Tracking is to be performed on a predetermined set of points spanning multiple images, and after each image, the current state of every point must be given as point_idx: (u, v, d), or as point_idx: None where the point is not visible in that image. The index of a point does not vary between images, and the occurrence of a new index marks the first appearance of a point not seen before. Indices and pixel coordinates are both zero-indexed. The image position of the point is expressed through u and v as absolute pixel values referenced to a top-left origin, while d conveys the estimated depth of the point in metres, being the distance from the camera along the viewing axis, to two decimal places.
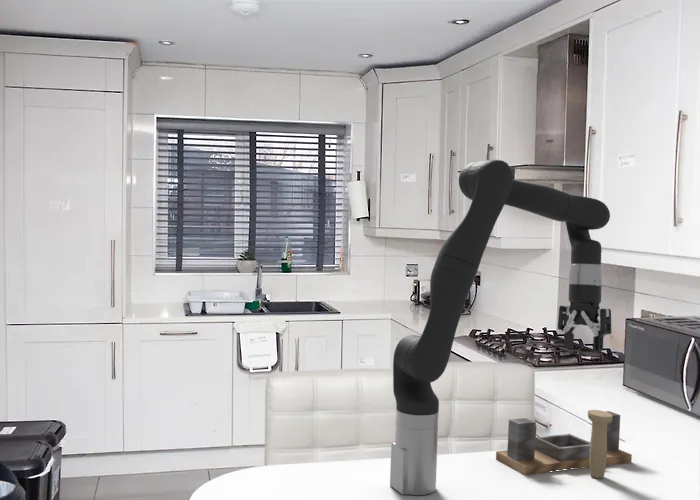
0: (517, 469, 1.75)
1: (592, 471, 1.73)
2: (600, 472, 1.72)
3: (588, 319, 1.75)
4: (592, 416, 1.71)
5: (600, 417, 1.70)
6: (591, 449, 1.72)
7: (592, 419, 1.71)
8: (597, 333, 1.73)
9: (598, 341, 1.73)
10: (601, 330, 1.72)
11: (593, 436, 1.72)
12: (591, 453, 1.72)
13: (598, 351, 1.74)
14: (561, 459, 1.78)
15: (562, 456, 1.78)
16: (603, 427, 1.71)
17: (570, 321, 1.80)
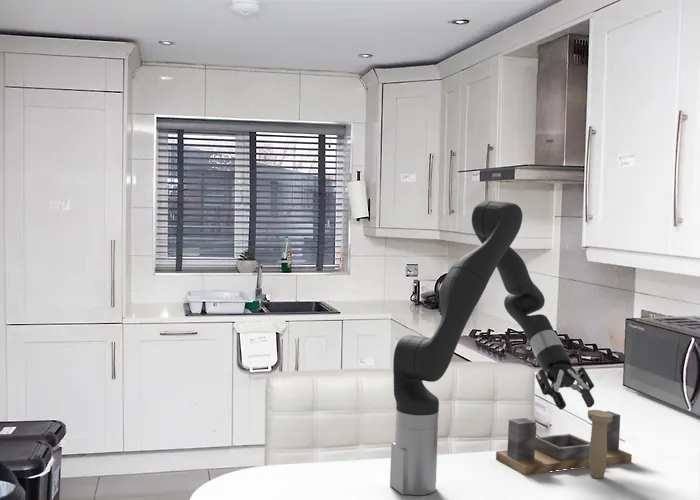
0: (517, 469, 1.75)
1: (592, 471, 1.73)
2: (600, 472, 1.72)
3: (576, 376, 1.85)
4: (592, 416, 1.71)
5: (600, 417, 1.70)
6: (591, 449, 1.72)
7: (592, 419, 1.71)
8: (588, 387, 1.84)
9: (590, 394, 1.83)
10: (590, 384, 1.85)
11: (593, 436, 1.72)
12: (591, 453, 1.72)
13: None
14: (561, 459, 1.78)
15: (562, 456, 1.78)
16: (604, 427, 1.71)
17: (560, 379, 1.82)
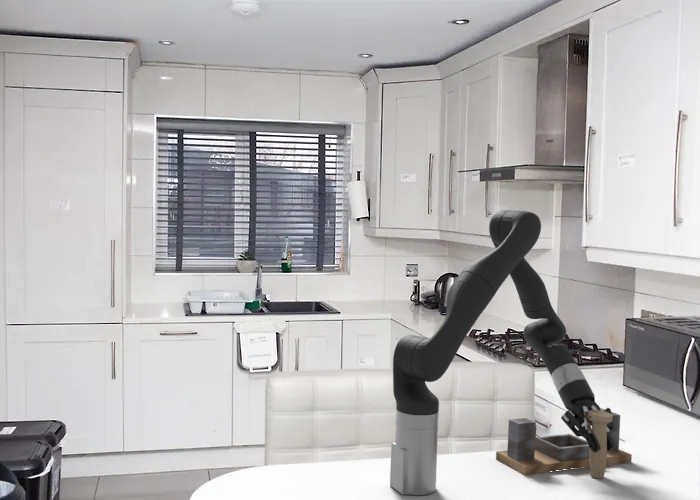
0: (517, 469, 1.75)
1: (592, 471, 1.73)
2: (600, 472, 1.72)
3: None
4: (592, 416, 1.71)
5: (600, 417, 1.70)
6: None
7: (592, 419, 1.71)
8: (608, 429, 1.74)
9: (610, 437, 1.73)
10: (610, 425, 1.75)
11: None
12: (591, 453, 1.72)
13: None
14: (561, 459, 1.78)
15: (562, 456, 1.78)
16: (604, 427, 1.71)
17: (588, 418, 1.74)
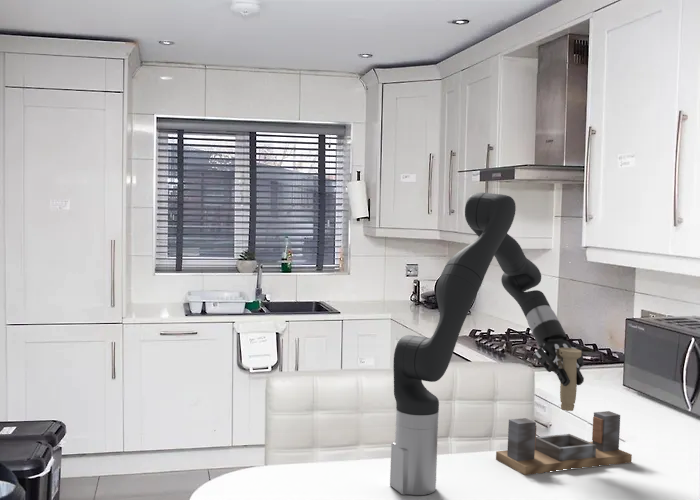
0: (517, 469, 1.75)
1: (562, 404, 1.83)
2: (570, 405, 1.82)
3: None
4: (562, 352, 1.82)
5: (570, 352, 1.80)
6: (561, 383, 1.83)
7: (562, 355, 1.82)
8: (578, 365, 1.84)
9: (580, 372, 1.84)
10: (580, 362, 1.85)
11: None
12: (561, 387, 1.83)
13: None
14: (561, 459, 1.78)
15: (562, 456, 1.78)
16: (573, 362, 1.81)
17: (559, 355, 1.84)
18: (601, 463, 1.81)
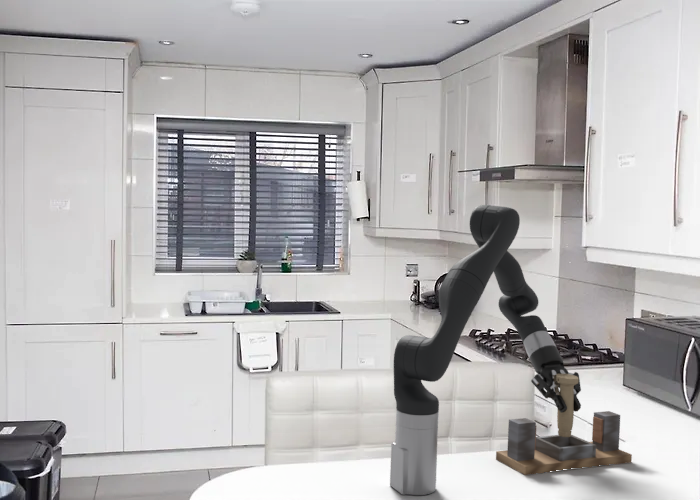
0: (517, 469, 1.75)
1: (560, 430, 1.84)
2: (567, 431, 1.83)
3: None
4: (559, 379, 1.82)
5: (567, 379, 1.81)
6: None
7: (559, 381, 1.82)
8: (575, 391, 1.85)
9: (577, 399, 1.84)
10: (577, 388, 1.86)
11: None
12: (559, 413, 1.83)
13: None
14: (561, 459, 1.78)
15: (562, 456, 1.78)
16: (570, 389, 1.82)
17: (556, 381, 1.85)
18: (601, 463, 1.81)
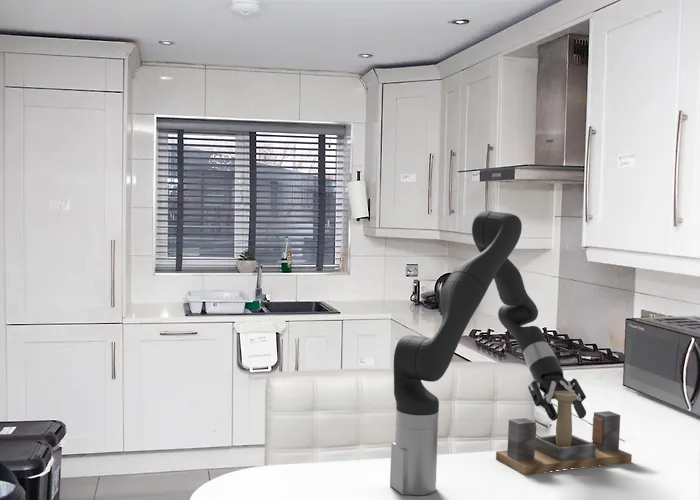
0: (517, 469, 1.75)
1: None
2: None
3: (568, 387, 1.87)
4: (557, 395, 1.83)
5: (564, 396, 1.81)
6: (557, 427, 1.84)
7: (557, 398, 1.83)
8: (580, 398, 1.87)
9: (582, 406, 1.86)
10: (582, 395, 1.88)
11: (558, 414, 1.83)
12: (557, 430, 1.84)
13: None
14: (561, 459, 1.78)
15: (562, 456, 1.78)
16: (568, 406, 1.82)
17: (552, 391, 1.85)
18: (601, 463, 1.81)
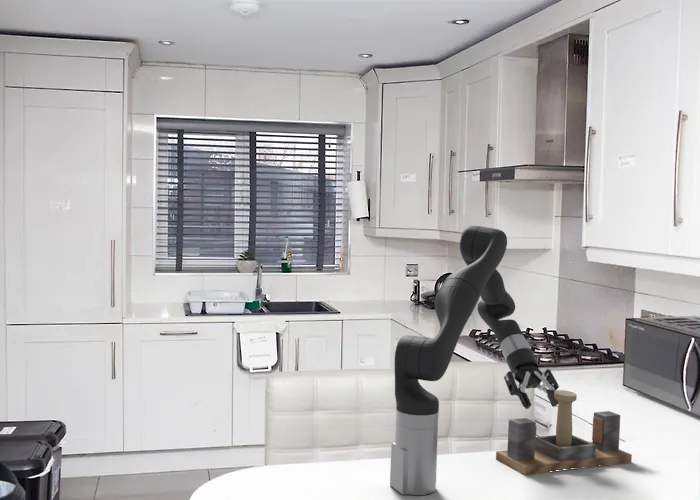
0: (517, 469, 1.75)
1: None
2: None
3: (542, 377, 1.98)
4: (558, 396, 1.83)
5: (565, 396, 1.81)
6: (557, 427, 1.84)
7: (558, 398, 1.83)
8: (553, 387, 1.97)
9: None
10: (555, 385, 1.98)
11: (559, 415, 1.83)
12: (557, 430, 1.83)
13: None
14: (561, 459, 1.78)
15: (562, 456, 1.78)
16: (568, 406, 1.82)
17: (526, 381, 1.95)
18: (601, 463, 1.81)
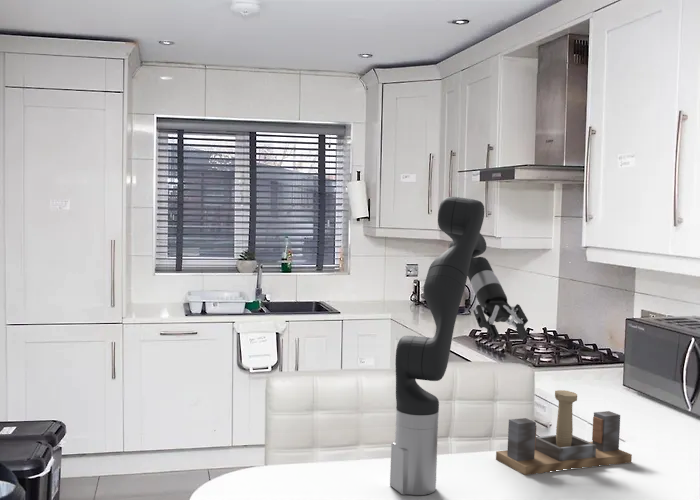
0: (517, 469, 1.75)
1: None
2: None
3: (511, 311, 1.99)
4: (558, 396, 1.83)
5: (565, 396, 1.81)
6: (557, 427, 1.84)
7: (558, 398, 1.83)
8: (522, 321, 1.98)
9: (524, 328, 1.97)
10: (524, 319, 1.99)
11: (559, 415, 1.83)
12: (557, 430, 1.83)
13: None
14: (561, 459, 1.78)
15: (562, 456, 1.78)
16: (569, 406, 1.82)
17: (495, 314, 1.96)
18: (601, 463, 1.81)
